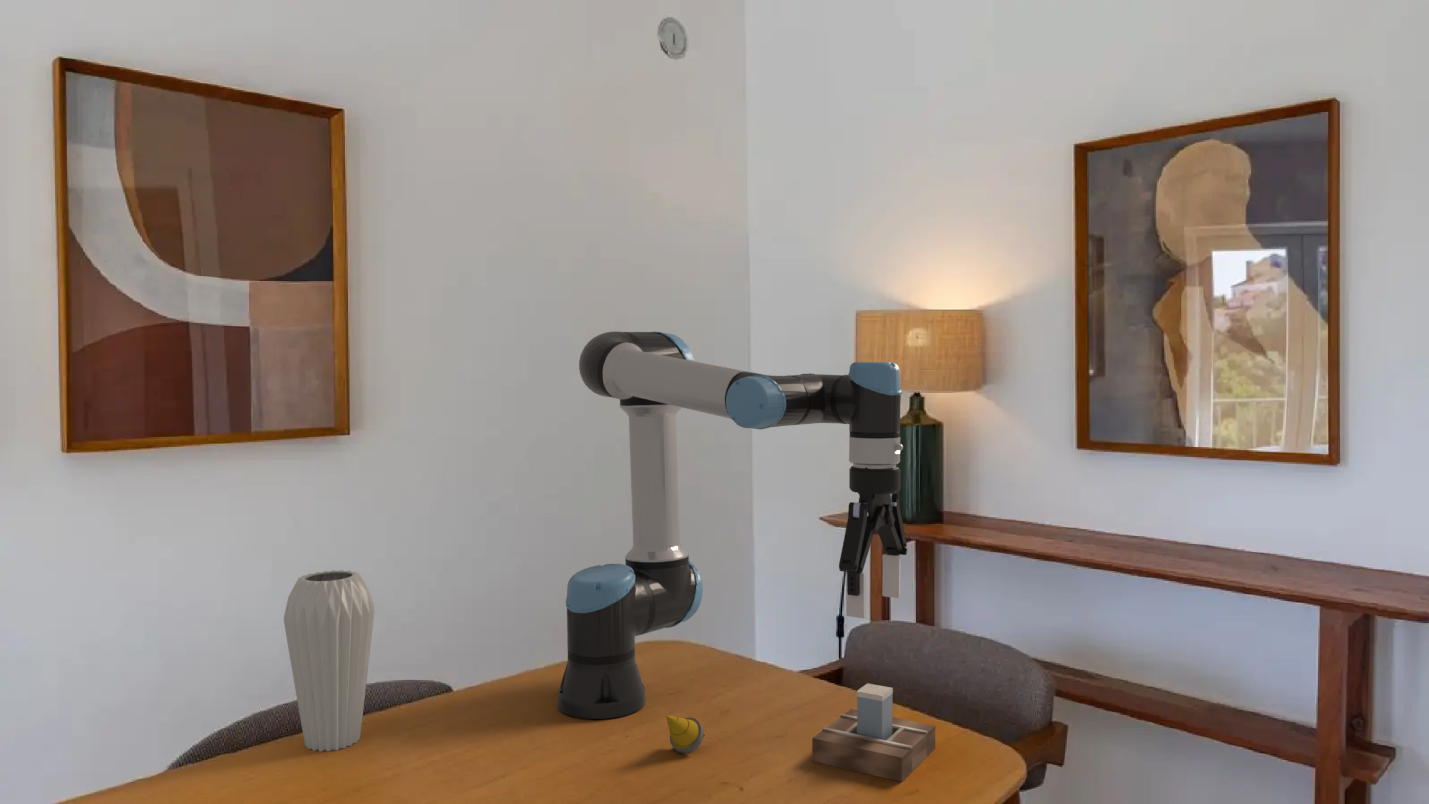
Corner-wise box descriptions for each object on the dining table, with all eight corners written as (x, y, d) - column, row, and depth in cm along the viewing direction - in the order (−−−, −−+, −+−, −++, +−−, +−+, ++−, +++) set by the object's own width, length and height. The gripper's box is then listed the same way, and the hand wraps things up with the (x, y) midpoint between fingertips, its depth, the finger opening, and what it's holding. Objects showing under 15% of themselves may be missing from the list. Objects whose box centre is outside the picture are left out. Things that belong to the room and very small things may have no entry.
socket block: (812, 761, 146) (812, 736, 146) (851, 730, 158) (850, 707, 158) (901, 782, 139) (901, 755, 138) (935, 748, 151) (935, 723, 150)
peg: (856, 756, 148) (856, 691, 147) (867, 747, 151) (867, 683, 151) (882, 762, 145) (882, 696, 145) (892, 753, 149) (892, 687, 148)
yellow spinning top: (714, 754, 150) (683, 725, 144) (683, 766, 151) (651, 737, 145) (709, 723, 154) (680, 693, 148) (679, 735, 155) (649, 706, 149)
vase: (395, 733, 158) (392, 571, 157) (331, 764, 146) (327, 589, 145) (334, 721, 164) (330, 564, 162) (267, 750, 152) (262, 581, 150)
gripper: (864, 475, 134) (864, 629, 135) (927, 458, 155) (927, 592, 156) (815, 472, 138) (815, 622, 139) (883, 456, 159) (882, 586, 160)
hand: (874, 606), depth 147 cm, fingers open, 13 cm apart
